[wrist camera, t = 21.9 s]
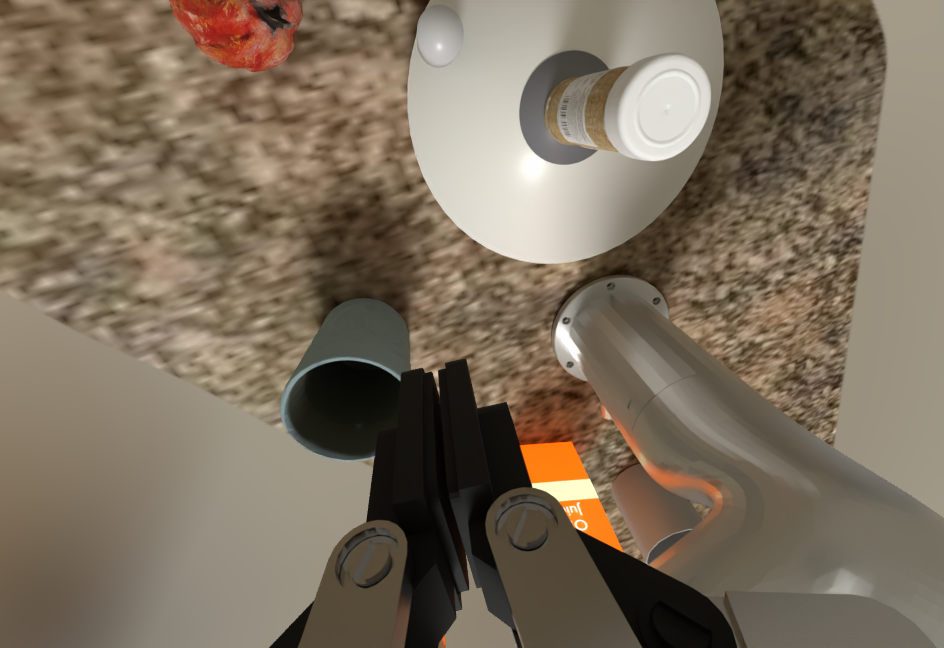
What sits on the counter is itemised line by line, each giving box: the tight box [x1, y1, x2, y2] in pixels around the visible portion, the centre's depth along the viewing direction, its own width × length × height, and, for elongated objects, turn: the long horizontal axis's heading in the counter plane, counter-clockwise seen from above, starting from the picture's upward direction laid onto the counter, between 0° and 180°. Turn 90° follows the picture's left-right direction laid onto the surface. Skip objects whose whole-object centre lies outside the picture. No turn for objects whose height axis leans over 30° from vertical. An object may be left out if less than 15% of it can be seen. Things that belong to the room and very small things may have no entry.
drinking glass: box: [280, 298, 411, 461], centre depth 37 cm, size 10×10×12 cm
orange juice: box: [520, 442, 623, 552], centre depth 44 cm, size 8×9×20 cm
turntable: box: [408, 0, 724, 264], centre depth 31 cm, size 24×24×8 cm
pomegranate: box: [169, 0, 303, 72], centre depth 26 cm, size 7×7×10 cm
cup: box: [611, 464, 703, 565], centre depth 52 cm, size 8×8×10 cm
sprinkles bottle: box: [544, 52, 711, 161], centre depth 25 cm, size 5×5×14 cm
